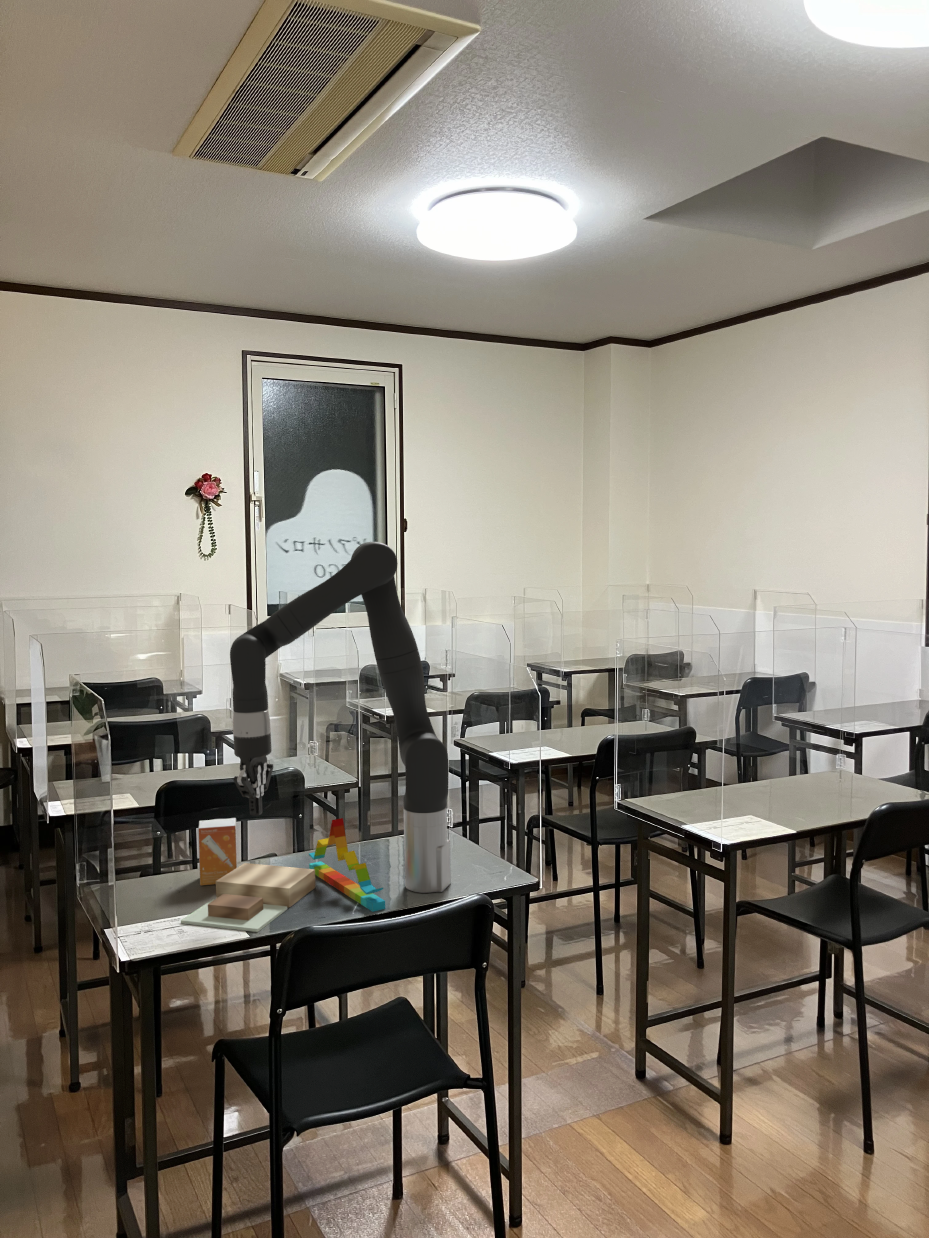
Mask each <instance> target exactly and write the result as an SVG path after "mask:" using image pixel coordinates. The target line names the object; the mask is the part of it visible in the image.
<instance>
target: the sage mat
mask: <svg viewBox="0 0 929 1238" xmlns="http://www.w3.org/2000/svg"><path fill="white" fill-rule="evenodd" d="M215 899H216V898H212V899H211V900H210V901H208V902H206V903H204V904H203V905H202V906H201V907H198V909H195V910H194V911H193V912H192V913H190V914H188V915H187V916H185V917H183V918H182V919H181V920H180V923H181V924H186V925H194V926H200V927H202V926H203V927H211V928H219V929H220V928H221V929H229V930H236V931H237V930H238V931H246V932H253V933H258V932H260V931H261V930H263V929H264V928H265V927H266V926H268V925H269V924H270V923H271V922H273V921H274V920H275V919H277V918H278V917H279V916H281V915H282V914H283V913H285V912H286V911H287V910H288V907H287V906H278V905H268V904H263V910H262V911H261V912H259V913H258V914H257V915H255V916H254V917H253V918H251V919H250V920H249V921H248V920H239V919H230V918H220V917H211V916H208V904H209V903H211V902H212V901H214V900H215Z"/></svg>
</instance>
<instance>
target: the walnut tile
mask: <svg viewBox="0 0 929 1238" xmlns="http://www.w3.org/2000/svg"><path fill="white" fill-rule="evenodd" d="M214 899H215V900H214V901H212V902H211V903H209V904H208V916H211V917H220V918H230V919H239V920H248V921H249V920H250V919H251V918H253V917H254V916H255V915H257V914H258V913H259V912H261V911H262V910H263V898H259V897H249V896H239V895H229V894H223V895H221V896H220V897H218V898H217V899H216V898H214Z"/></svg>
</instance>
